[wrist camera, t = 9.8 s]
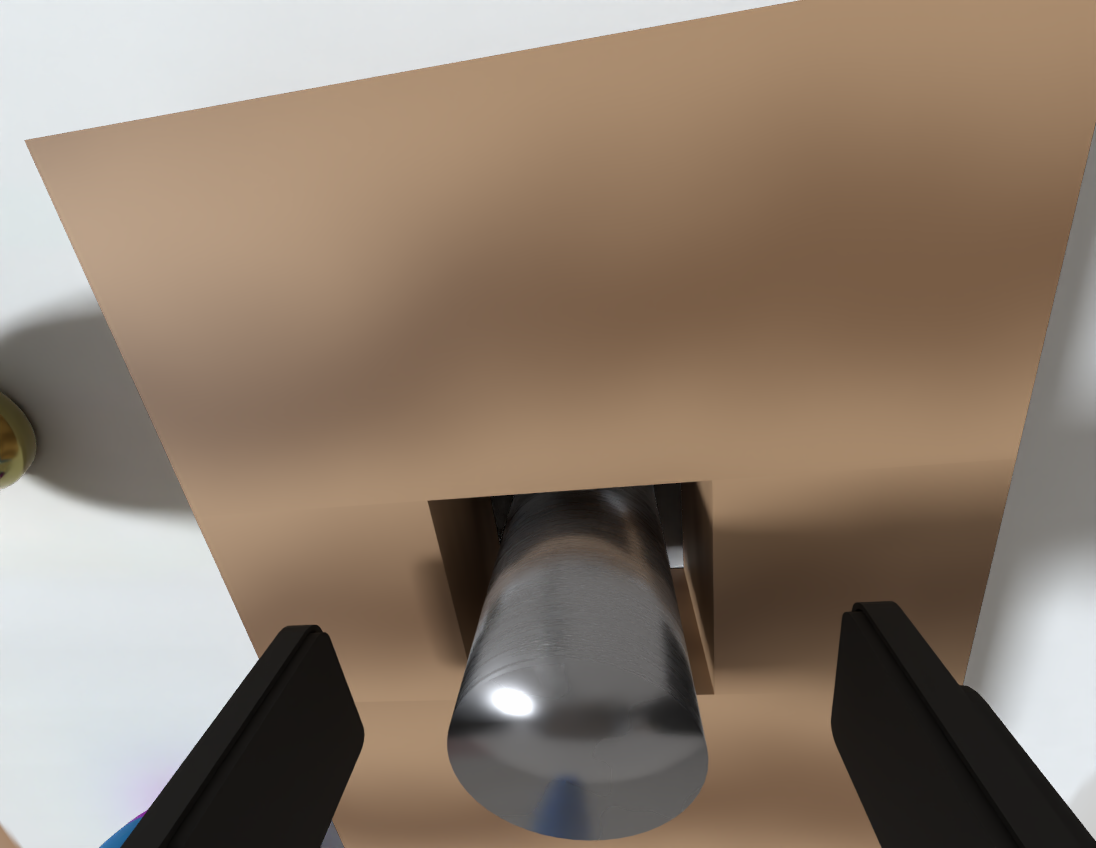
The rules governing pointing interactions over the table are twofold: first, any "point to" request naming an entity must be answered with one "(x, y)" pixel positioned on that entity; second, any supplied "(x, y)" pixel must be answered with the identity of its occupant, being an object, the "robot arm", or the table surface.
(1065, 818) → the robot arm
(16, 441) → the cup
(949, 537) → the walnut block
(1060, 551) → the table surface
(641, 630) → the steel peg
